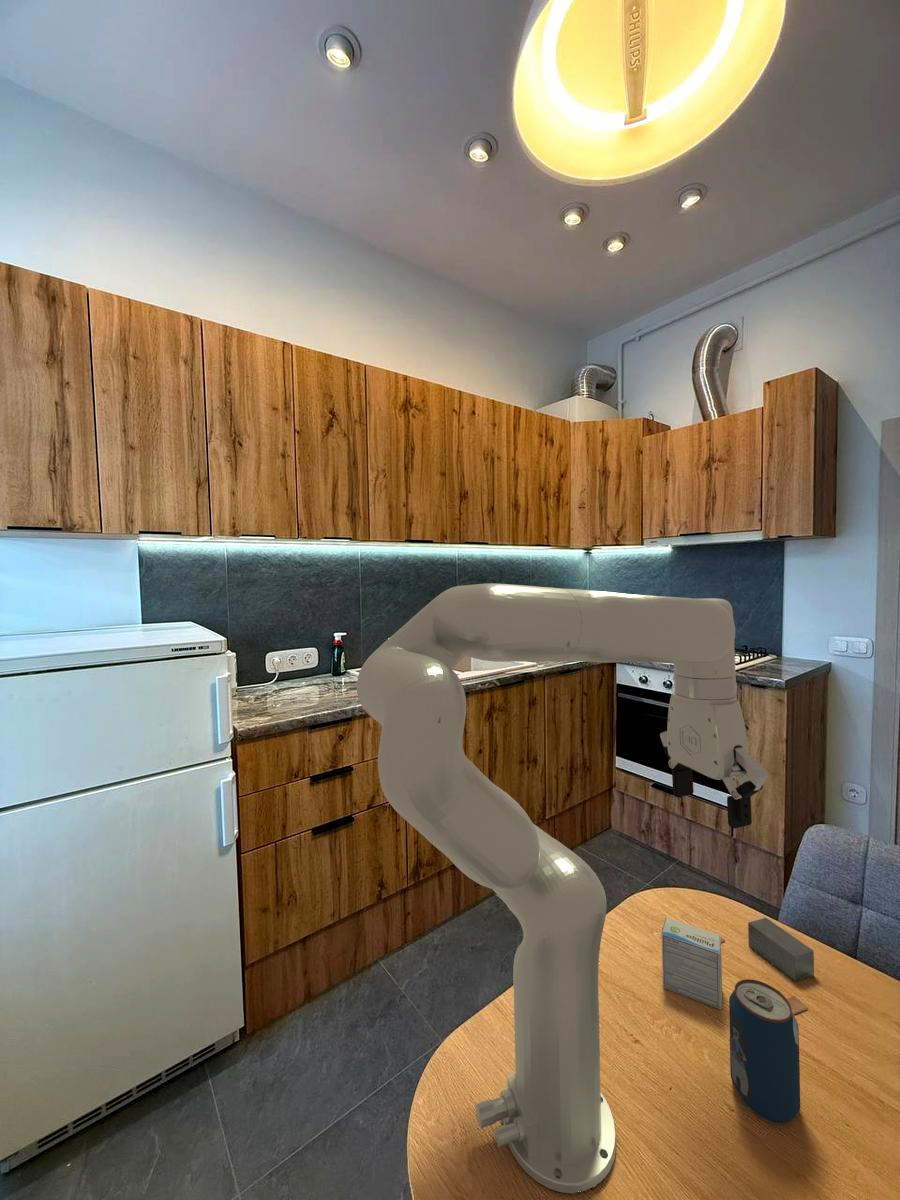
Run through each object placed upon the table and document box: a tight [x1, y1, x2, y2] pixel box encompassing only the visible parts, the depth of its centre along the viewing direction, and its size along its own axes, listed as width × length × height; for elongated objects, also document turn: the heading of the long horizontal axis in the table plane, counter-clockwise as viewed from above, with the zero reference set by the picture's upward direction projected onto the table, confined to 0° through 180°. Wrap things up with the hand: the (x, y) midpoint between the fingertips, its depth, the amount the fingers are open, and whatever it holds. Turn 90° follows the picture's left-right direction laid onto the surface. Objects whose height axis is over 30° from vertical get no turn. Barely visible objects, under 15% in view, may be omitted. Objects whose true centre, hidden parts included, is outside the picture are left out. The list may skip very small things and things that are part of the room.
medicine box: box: [660, 917, 723, 1010], centre depth 71 cm, size 8×4×9 cm, turn 58°
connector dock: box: [713, 917, 815, 1016], centre depth 75 cm, size 15×16×4 cm
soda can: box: [728, 978, 801, 1125], centre depth 55 cm, size 7×7×12 cm
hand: (709, 809), depth 64 cm, fingers open, 9 cm apart
